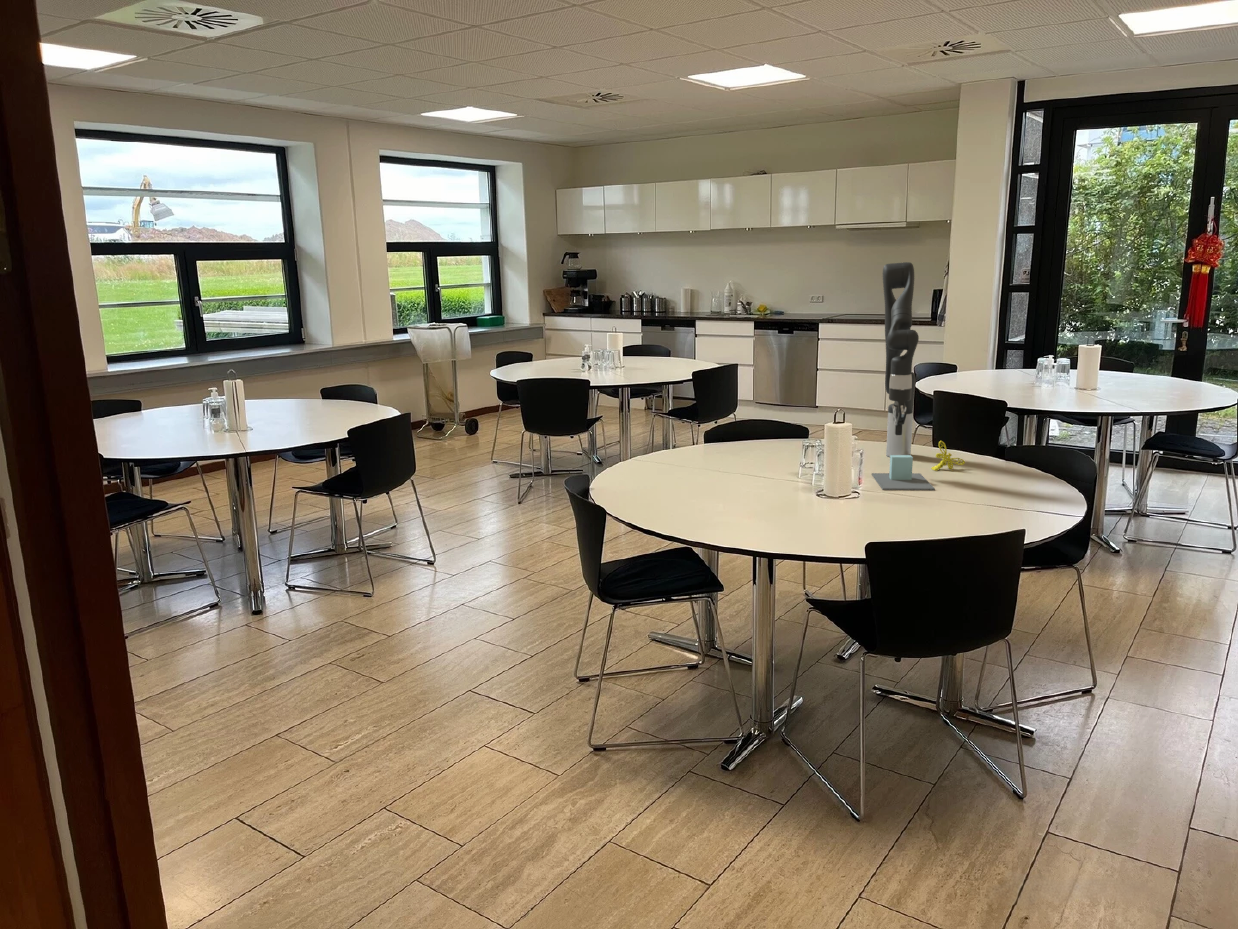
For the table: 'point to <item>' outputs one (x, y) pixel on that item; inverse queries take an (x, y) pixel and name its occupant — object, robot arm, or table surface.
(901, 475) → the pale blue block
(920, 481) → the mat
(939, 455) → the decorative insect
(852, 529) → the table surface
